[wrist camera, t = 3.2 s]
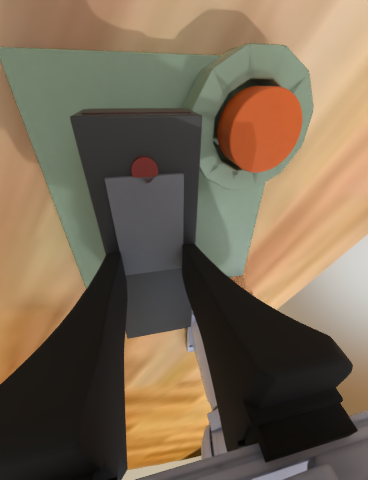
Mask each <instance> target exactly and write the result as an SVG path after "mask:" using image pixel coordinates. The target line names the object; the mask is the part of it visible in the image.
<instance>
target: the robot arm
mask: <svg viewBox="0 0 368 480" xmlns="http://www.w3.org/2000/svg"><path fill="white" fill-rule="evenodd" d="M182 277H183V281H184V286H185V290H186V294H187V297H188V300H189V302H190V305H191V308H192V321H191V327H188V329H187V351H188V352H192V351H195V353H196V357H197V361H198V365H199V369H200V373H201V377H202V381H203V385H204V389H205V393H206V396H207V399H208V402H209V403H210V405H211V409H212V412H210V413H208V414H207V415H208V420H209V424H210V425H208V426H206V428H205V430H204V435H203V438H202V445H201V453H202V460H199V461H196V462H193V463H189V464H186V465H183V466H179V467H176V468H173V469H169V470H166V471H162V472H159V473H156V474H152V475H149V476H146V477H142V478H139V479H136V480H368V410H367V411H364V412H360V413H357V414H354V415H351V416H348V414H347V413H346V411H345V410H344V408H343V407H342V406H341V404H340V402H342V401H343V399H342V396H341V395H340V394H339V392H338V391H337V389H336V387H337V386H338V385H339V384H340V383H341V382H342V381H343V380H344V379H345V378H346V377H347V376H348V375H349V374H350V373H351V371H352V367H353V365H352V363H351V361H350V360H349V359H348V358H347V356H346V355H345V354H344V353H343V351H342V350H341V349H340V348H339V346H338V345H337V344H336V343H335V342H334V340H333V339H332V338H331V337H330V336H328V335H326V334H324V333H322V332H319V331H317V330H315V329H313V328H311V327H308V326H306V325H304V324H302V323H300V322H298V321H296V320H294V319H292V318H290V317H288V316H286V315H284V314H282V313H280V312H279V311H277V310H275V309H274V308H272V307H270V306H269V305H267V304H265V303H264V302H262V301H260V300H259V299H257V298H256V297H254V296H253V295H251V294H250V293H248V292H247V291H246V290H244V289H243V288H241V287H240V286H239V285H238V284H236V283H235V282H234V281H233V280H231V279H230V278H229V277H228V276H227V275H226V274H224V273H223V272H222V271H221V270H220V269H219V268H218V267H217V266H216V265H215V264H214V263H213V262H212V261H211V260H210V259H209V258H208V257H207V256H206V255H205V254H204V253H203V252H202V251H201V250H200V249H199V248H198V247H197V246H196V245H195V244H194V243H191V244H183V245H182ZM127 302H128V297H127V280H126V275H125V271H124V266H123V261H122V256H121V252H115V253H107V255H106V256H105V258H104V260H103V262H102V264H101V266H100V267H99V269H98V271H97V273H96V275H95V276H94V278H93V279H92V281H91V283H90V284H89V286H88V288H87V289H86V291H85V292H84V293H83V295H82V296H81V298H80V299H79V301H78V302H77V303H76V305H75V306H74V307H73V309H72V310H71V311H70V313H69V314H68V315H67V316H66V318H65V319H64V320H63V321H62V323H61V324H60V325H59V326H58V327H57V328H56V329H55V331H54V332H53V333H52V334H51V335H50V336H49V337H48V338H47V340H46V341H45V342H44V343H43V344H42V345H41V346H40V347H39V348H38V349H37V350H36V351H35V352H34V353H33V354H32V355H31V356H30V357H29V358H28V359H27V360H26V361H25V362H24V363H23V364H22V365H21V366H20V367H19V368H18V369H17V370H16V371H15V372H14V373H12V374H11V375H10V376H9V377H8V378H7V379H6V380H5V381H4V382H3V383H2V384H0V480H121V479H122V478H123V476H124V474H125V472H126V471H127V449H126V424H125V391H124V341H125V328H126V316H127Z"/></svg>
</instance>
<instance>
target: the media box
mask: <svg viewBox="0 0 368 480" xmlns="http://www.w3.org/2000/svg"><path fill="white" fill-rule="evenodd" d="M0 61H1V63H2V66H3V69H4V71H5V74H6V77H7V79H8V82H9V85H10V87H11V90H12V93H13V95H14V98H15V101H16V103H17V106H18V109H19V111H20V114H21V117H22V119H23V122H24V125H25V127H26V130H27V133H28V135H29V138H30V141H31V143H32V146H33V148H34V151H35V154H36V156H37V159H38V162H39V164H40V167H41V170H42V172H43V175H44V178H45V180H46V183H47V186H48V188H49V191H50V194H51V196H52V199H53V202H54V204H55V207H56V210H57V212H58V215H59V218H60V220H61V223H62V226H63V228H64V231H65V234H66V236H67V239H68V241H69V244H70V247H71V249H72V252H73V255H74V257H75V260H76V263H77V265H78V268H79V271H80V273H81V276H82V279H83V281H84V284H85V287H86V289H87V288H88V286H89V284H90V283H91V281H92V279H93V278H94V276H95V275H96V273H97V271H98V269H99V267H100V266H101V264H102V262H103V260H104V258H105V256H106V255H105V251H104V247H103V243H102V239H101V235H100V232H99V228H98V224H97V220H96V216H95V213H94V209H93V205H92V201H91V197H90V193H89V190H88V186H87V182H86V178H85V174H84V171H83V167H82V163H81V159H80V155H79V152H78V148H77V144H76V140H75V136H74V132H73V129H72V125H71V121H70V116H72V115H74V114H76V113H77V112H79V111H81V110H83V109H99V108H183V109H189V110H191V111H194V112H196V113H198V114H201V115H202V133H201V152H200V171H199V189H198V208H197V227H196V246H197V247H198V248H199V249H200V250H201V251H202V252H203V253H204V254H205V255H206V256H207V257H208V258H209V259H210V260H211V261H212V262H213V263H214V264H215V265H216V266H217V267H218V268H219V269H220V270H221V271H222V272H223V273H224V274H226V275H227V276H228V277H233V276H240V275H243V272H244V268H245V264H246V260H247V256H248V252H249V248H250V243H251V239H252V235H253V231H254V227H255V223H256V219H257V214H258V210H259V206H260V202H261V198H262V194H263V189H264V185H265V182H266V181H268V180H269V179H271V178H273V177H274V176H276V175H278V174H280V173H281V172H282V171H283V170H284V168H285V167H286V166H287V164H288V163H289V162H290V161H291V159H292V158H293V157H294V155H295V154H296V153H297V152H298V150H299V149H300V148H301V146H302V144H303V142H304V138H305V135H306V132H307V129H308V126H309V123H310V119H311V116H312V113H313V99H312V91H311V83H310V75H309V71H308V69H307V68H306V67H305V66H304V65H303V64H302V63H301V62H300V60H299V59H298V58H297V57H296V56H295V55H294V54H293V53H292V51H291V50H290V49H289V48H288V47H287V46H284V45H276V44H256V43H249V44H245V45H242V46H239V47H236V48H233V49H230V50H229V51H227V52H226V53H224V54H223V55H199V54H173V53H147V52H122V51H96V50H70V49H44V48H18V47H0ZM252 86H277V87H283V88H286V89H288V90H289V91H291V92H292V93H293V94H294V95H295V96H296V98H297V99H298V101H299V103H300V106H301V109H302V128H301V132H300V135H299V138H298V140H297V143H296V145H295V146H294V148H293V150H292V151H291V152H290V154H289V155H288V156H287V157H286V158H285V159H284V160H283V161H282V162H281V163H280V164H278V165H277V166H275V167H274V168H272V169H270V170H267V171H264V172H258V173H253V172H248V171H245V170H243V169H241V168H240V167H239V166H237V165H236V164H235V163H233V162H232V161H231V160H229V159H228V158H227V157H226V156H225V155H224V154H223V152H222V151H221V149H220V146H219V143H218V138H217V129H218V123H219V119H220V116H221V113H222V111H223V109H224V108H225V106H226V105H227V103H228V102H229V101H230V99H231V98H232V97H233V96H234V95H236V94H237V93H238V92H240V91H241V90H243V89H245V88H248V87H252Z"/></svg>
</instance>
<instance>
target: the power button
mask: <svg viewBox="0 0 368 480" xmlns="http://www.w3.org/2000/svg"><path fill="white" fill-rule="evenodd" d="M301 128H302V109H301V106H300V103H299V101H298V99H297V98H296V96H295V95H294V94H293V93H292V92H291V91H289V90H288V89H286V88H283V87H277V86H252V87H248V88H245V89H243V90H241V91H240V92H238V93H237V94H236V95H234V96H233V97H232V98H231V99H230V101H229V102H228V103H227V105H226V106H225V108H224V109H223V111H222V113H221V116H220V119H219V123H218V129H217V138H218V143H219V146H220V149H221V151H222V152H223V154H224V155H225V156H226V157H227V158H228V159H229V160H231V161H232V162H233V163H235V164H236V165H237V166H239V167H240V168H241V169H243V170H245V171H248V172H253V173H258V172H264V171H267V170H270V169H272V168H274V167H275V166H277V165H278V164H280V163H281V162H282V161H283V160H284V159H285V158H286V157H287V156H288V155H289V154H290V152H291V151H292V150H293V148H294V146H295V145H296V143H297V140H298V138H299V135H300V132H301Z"/></svg>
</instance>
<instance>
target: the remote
mask: <svg viewBox="0 0 368 480" xmlns="http://www.w3.org/2000/svg"><path fill="white" fill-rule="evenodd" d="M70 121H71V125H72V129H73V132H74V136H75V140H76V144H77V148H78V152H79V155H80V159H81V163H82V167H83V171H84V174H85V178H86V182H87V186H88V190H89V193H90V197H91V201H92V205H93V209H94V213H95V216H96V220H97V224H98V228H99V232H100V235H101V239H102V243H103V247H104V251H105V255H107V253H115V252H121V256H122V261H123V266H124V271H125V275H126V280H127V297H128V302H127V316H126V328H125V331H126V335H127V338H134V337H139V336H145V335H150V334H155V333H161V332H166V331H172V330H177V329H182V328H188V327H191V321H192V308H191V305H190V302H189V300H188V297H187V294H186V290H185V286H184V281H183V277H182V245H183V244H191V243H194V244H195V245H196V227H197V208H198V189H199V171H200V152H201V133H202V115H201V114H198V113H196V112H194V111H191V110H189V109H183V108H99V109H83V110H81V111H79V112H77V113H76V114H74V115H72V116H70Z"/></svg>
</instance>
